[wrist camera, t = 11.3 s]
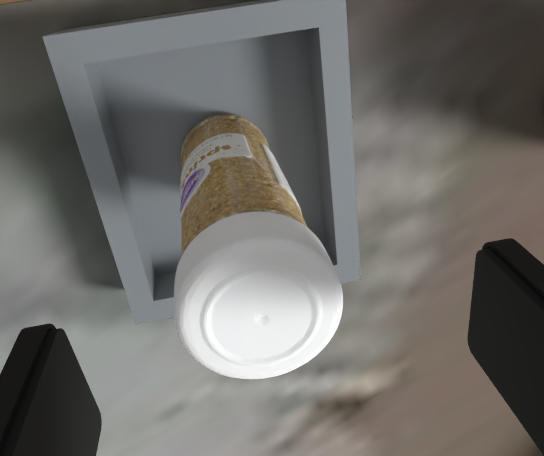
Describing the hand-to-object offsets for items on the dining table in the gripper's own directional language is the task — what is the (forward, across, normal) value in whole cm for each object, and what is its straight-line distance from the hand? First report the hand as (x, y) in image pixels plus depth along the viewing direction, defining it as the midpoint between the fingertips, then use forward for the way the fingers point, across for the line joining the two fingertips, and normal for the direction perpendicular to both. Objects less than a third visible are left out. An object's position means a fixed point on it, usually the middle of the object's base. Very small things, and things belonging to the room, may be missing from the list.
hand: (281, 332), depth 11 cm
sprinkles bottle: (+15, +1, +1) cm, 15 cm away
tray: (+15, +1, +1) cm, 15 cm away
